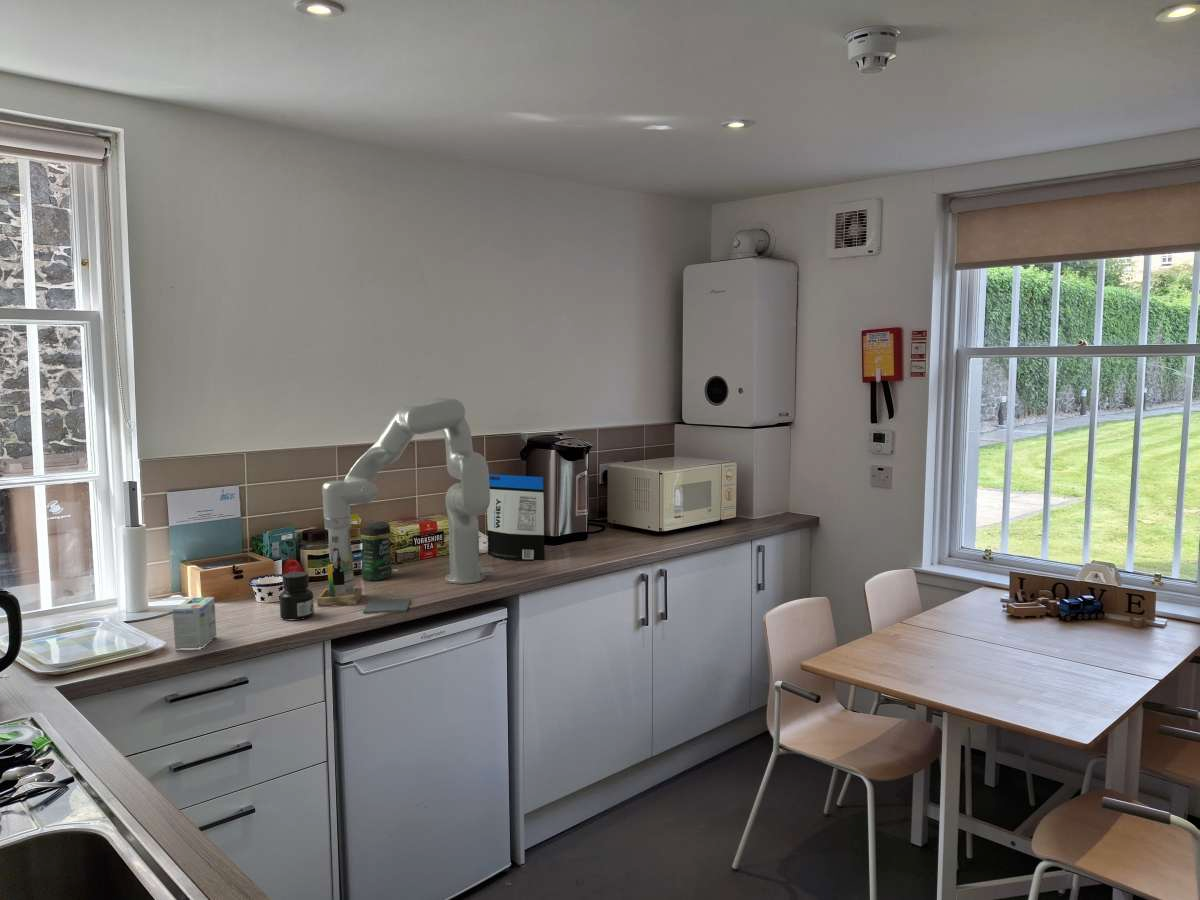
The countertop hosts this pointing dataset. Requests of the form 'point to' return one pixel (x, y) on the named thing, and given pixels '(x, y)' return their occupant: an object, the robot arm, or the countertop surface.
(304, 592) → the ink bottle
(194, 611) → the light bulb box
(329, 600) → the tray
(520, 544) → the protein powder
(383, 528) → the coffee jar
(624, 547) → the countertop surface
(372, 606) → the mat
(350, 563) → the crayon box
